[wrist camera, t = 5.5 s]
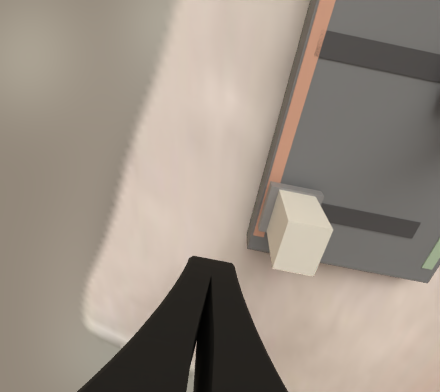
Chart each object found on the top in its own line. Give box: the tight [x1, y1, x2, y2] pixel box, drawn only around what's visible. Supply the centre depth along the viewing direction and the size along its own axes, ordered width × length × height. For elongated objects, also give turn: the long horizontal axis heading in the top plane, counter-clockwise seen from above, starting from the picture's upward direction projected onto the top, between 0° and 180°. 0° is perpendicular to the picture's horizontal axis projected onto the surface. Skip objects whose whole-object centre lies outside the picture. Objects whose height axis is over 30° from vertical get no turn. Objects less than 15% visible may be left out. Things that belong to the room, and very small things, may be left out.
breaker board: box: [247, 0, 440, 283], centre depth 15 cm, size 11×14×2 cm
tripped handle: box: [258, 181, 333, 277], centre depth 14 cm, size 3×3×4 cm
